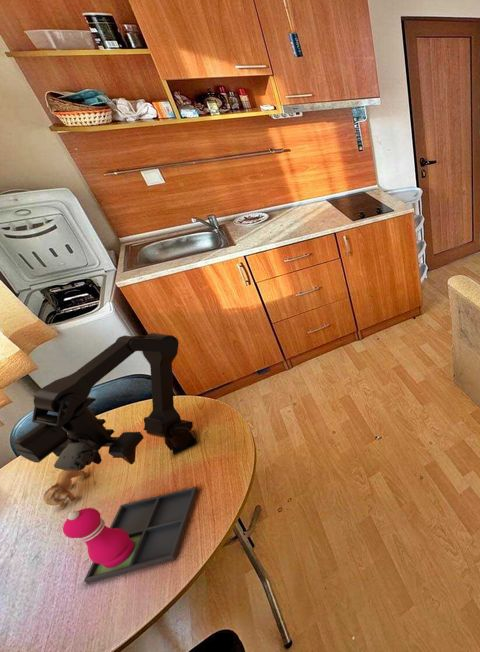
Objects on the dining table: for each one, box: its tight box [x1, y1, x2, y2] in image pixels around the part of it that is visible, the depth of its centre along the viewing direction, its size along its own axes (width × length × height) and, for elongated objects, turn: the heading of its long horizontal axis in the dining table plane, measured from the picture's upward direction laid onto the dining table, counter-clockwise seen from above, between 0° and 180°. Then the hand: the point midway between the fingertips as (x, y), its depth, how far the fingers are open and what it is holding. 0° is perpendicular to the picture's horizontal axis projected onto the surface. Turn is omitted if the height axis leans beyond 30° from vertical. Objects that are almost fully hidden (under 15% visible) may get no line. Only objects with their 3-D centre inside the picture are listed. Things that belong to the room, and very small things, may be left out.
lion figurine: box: [42, 470, 88, 510], centre depth 104 cm, size 15×5×9 cm, turn 34°
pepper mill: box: [62, 507, 134, 568], centre depth 87 cm, size 7×7×20 cm
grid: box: [83, 486, 199, 585], centre depth 97 cm, size 18×18×2 cm
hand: (116, 462), depth 100 cm, fingers open, 9 cm apart
